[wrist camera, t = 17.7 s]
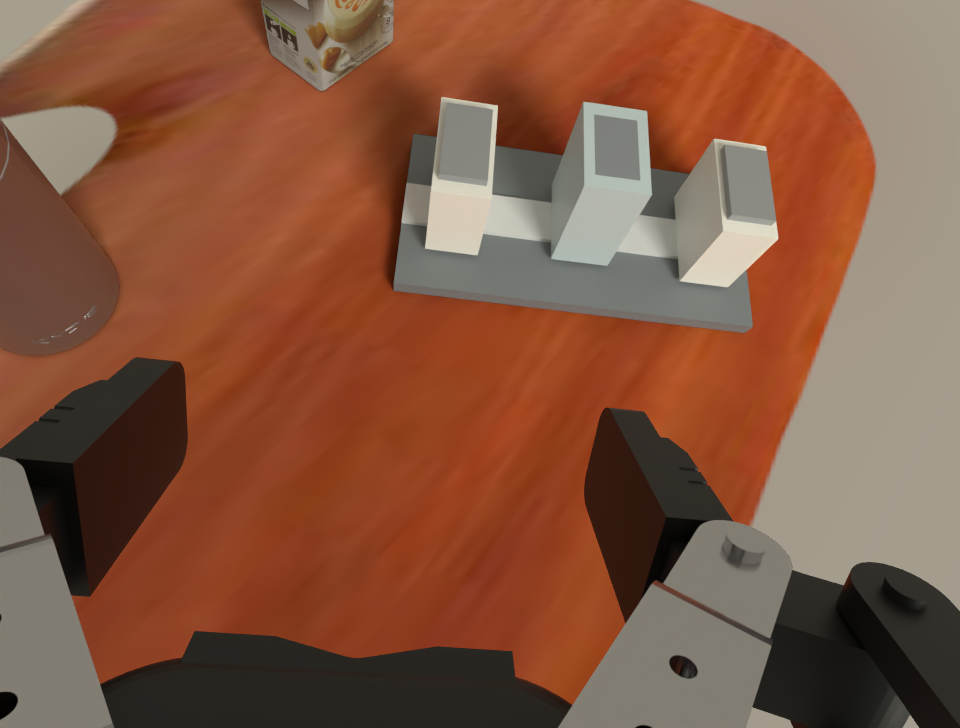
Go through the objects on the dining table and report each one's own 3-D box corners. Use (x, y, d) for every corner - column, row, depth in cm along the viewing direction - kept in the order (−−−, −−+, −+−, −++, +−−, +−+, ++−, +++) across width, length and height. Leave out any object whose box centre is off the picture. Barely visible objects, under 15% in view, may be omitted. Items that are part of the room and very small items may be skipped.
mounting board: (393, 290, 47) (393, 280, 46) (412, 143, 53) (413, 130, 51) (744, 332, 50) (755, 324, 49) (729, 189, 56) (739, 177, 54)
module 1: (425, 248, 47) (431, 185, 40) (434, 163, 50) (442, 90, 43) (477, 255, 48) (492, 193, 41) (483, 170, 51) (499, 99, 44)
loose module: (550, 259, 48) (584, 185, 40) (551, 184, 51) (583, 101, 43) (607, 265, 49) (652, 194, 41) (605, 191, 52) (647, 110, 43)
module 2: (679, 281, 49) (727, 226, 42) (674, 197, 52) (718, 132, 45) (727, 287, 50) (783, 233, 43) (719, 203, 53) (770, 140, 46)
